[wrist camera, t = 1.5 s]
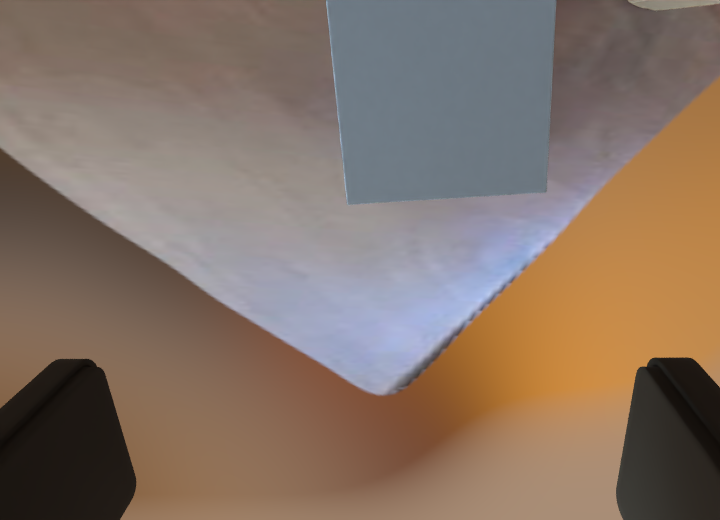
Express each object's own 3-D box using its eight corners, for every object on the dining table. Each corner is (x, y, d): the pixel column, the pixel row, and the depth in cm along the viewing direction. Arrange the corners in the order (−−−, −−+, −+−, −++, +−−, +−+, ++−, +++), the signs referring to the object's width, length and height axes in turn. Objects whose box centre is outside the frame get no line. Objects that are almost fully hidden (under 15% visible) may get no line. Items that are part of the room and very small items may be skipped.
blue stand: (347, 2, 27) (324, -12, 19) (515, -16, 26) (558, -38, 18) (361, 164, 30) (347, 205, 23) (511, 153, 29) (546, 192, 22)
